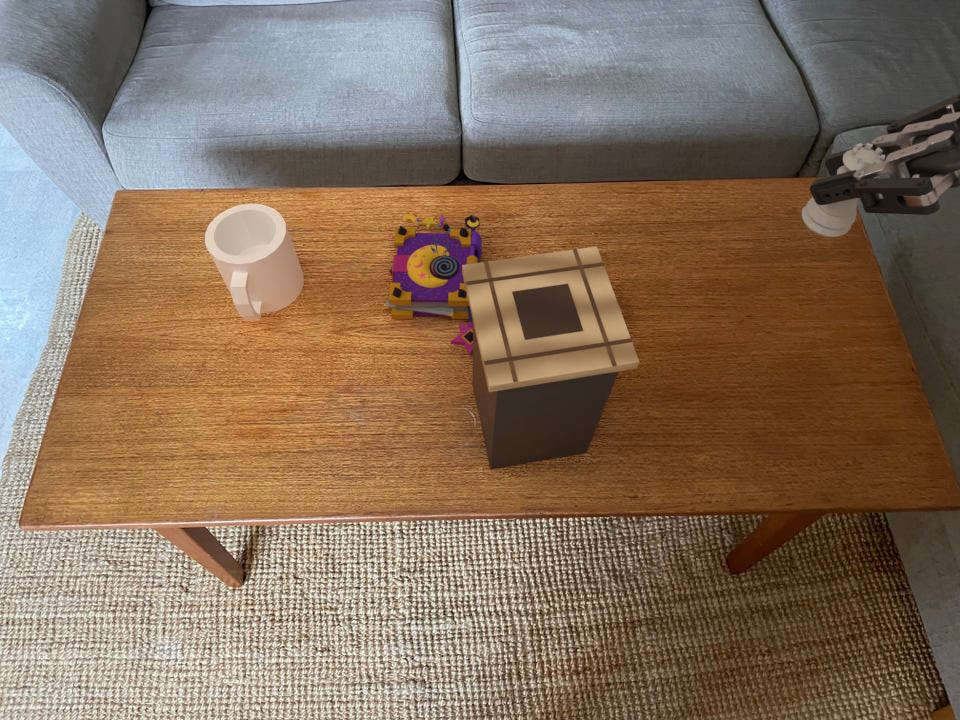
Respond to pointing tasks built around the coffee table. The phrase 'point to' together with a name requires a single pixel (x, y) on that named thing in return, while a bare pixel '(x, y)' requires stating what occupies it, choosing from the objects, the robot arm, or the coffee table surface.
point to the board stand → (538, 416)
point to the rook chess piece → (841, 214)
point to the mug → (255, 259)
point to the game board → (547, 319)
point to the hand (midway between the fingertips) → (822, 180)
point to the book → (434, 273)
